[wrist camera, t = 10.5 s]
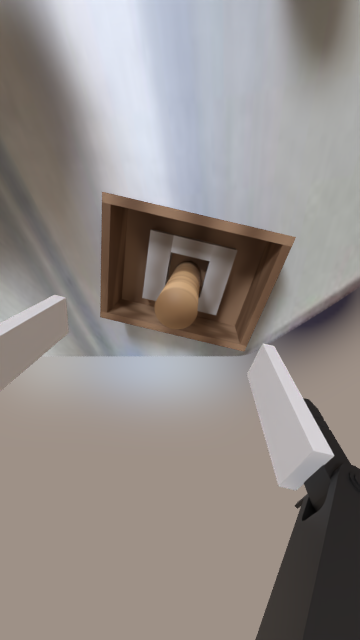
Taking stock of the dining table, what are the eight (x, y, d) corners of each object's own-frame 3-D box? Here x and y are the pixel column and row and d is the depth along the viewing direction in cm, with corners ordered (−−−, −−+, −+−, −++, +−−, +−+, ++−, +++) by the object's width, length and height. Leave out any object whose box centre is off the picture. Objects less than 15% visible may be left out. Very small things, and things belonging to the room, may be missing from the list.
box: (117, 301, 35) (100, 317, 29) (123, 197, 27) (102, 191, 22) (237, 329, 35) (244, 351, 29) (276, 233, 27) (295, 237, 21)
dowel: (177, 257, 29) (157, 284, 17) (203, 264, 29) (202, 295, 17) (172, 283, 31) (151, 323, 19) (197, 288, 31) (191, 333, 19)
